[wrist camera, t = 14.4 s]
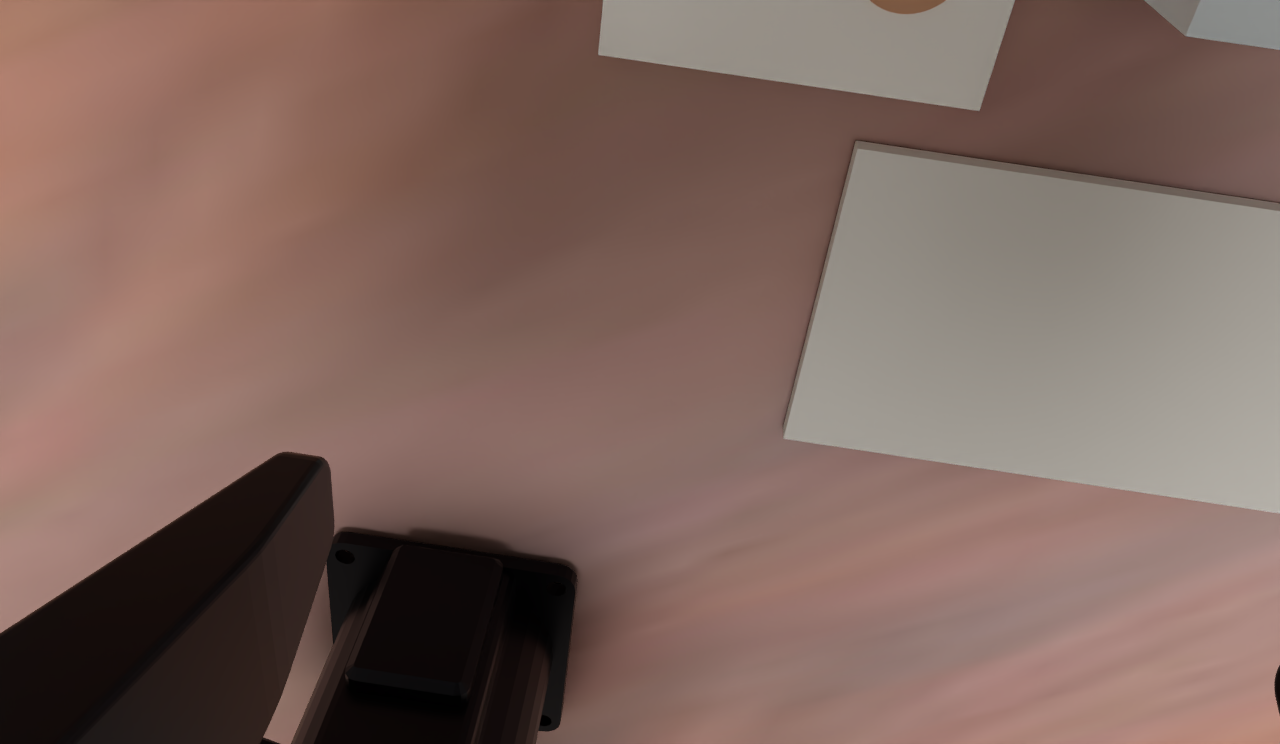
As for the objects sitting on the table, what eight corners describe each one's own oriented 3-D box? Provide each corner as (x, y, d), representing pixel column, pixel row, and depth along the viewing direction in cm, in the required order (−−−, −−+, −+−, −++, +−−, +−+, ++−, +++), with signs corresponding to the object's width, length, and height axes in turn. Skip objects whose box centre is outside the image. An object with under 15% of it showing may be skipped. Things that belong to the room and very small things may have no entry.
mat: (1435, 526, 23) (1444, 538, 23) (782, 427, 23) (783, 438, 23) (1643, 256, 19) (1659, 267, 19) (855, 140, 19) (857, 148, 19)
